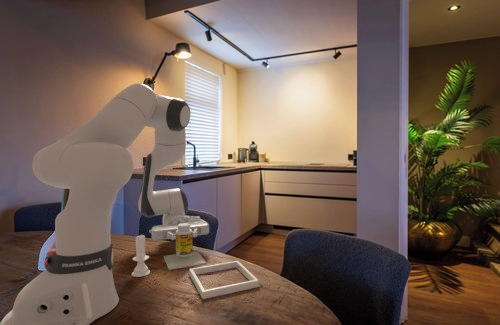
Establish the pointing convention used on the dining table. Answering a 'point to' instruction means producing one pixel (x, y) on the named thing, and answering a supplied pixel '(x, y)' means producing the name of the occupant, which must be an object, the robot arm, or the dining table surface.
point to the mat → (183, 260)
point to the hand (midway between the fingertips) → (184, 236)
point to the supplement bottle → (184, 240)
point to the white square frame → (223, 290)
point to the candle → (140, 258)
